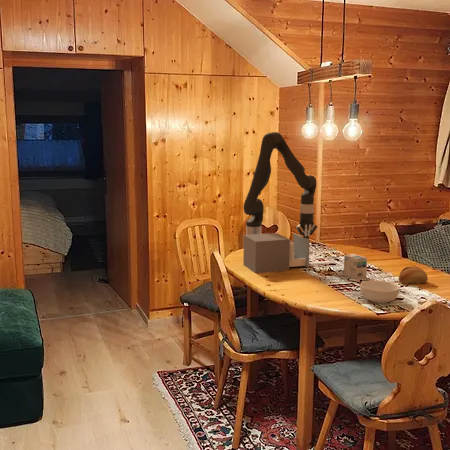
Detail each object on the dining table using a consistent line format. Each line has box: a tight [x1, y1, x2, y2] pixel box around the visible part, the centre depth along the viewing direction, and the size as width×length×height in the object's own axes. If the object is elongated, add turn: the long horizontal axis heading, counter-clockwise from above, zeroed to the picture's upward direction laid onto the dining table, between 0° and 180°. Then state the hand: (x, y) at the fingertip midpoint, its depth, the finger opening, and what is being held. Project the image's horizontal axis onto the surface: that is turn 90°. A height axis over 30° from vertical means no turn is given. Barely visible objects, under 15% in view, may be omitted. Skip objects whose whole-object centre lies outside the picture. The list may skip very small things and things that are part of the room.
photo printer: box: [289, 240, 294, 259], centre depth 301 cm, size 10×4×12 cm, turn 35°
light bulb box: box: [343, 253, 368, 280], centre depth 281 cm, size 11×7×11 cm, turn 27°
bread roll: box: [398, 266, 428, 284], centre depth 270 cm, size 10×15×8 cm, turn 103°
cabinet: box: [243, 232, 291, 274], centre depth 297 cm, size 18×20×17 cm
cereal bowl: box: [359, 279, 400, 304], centre depth 243 cm, size 17×17×7 cm
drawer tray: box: [289, 233, 311, 268], centre depth 301 cm, size 18×20×16 cm
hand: (305, 242), depth 304 cm, fingers closed
